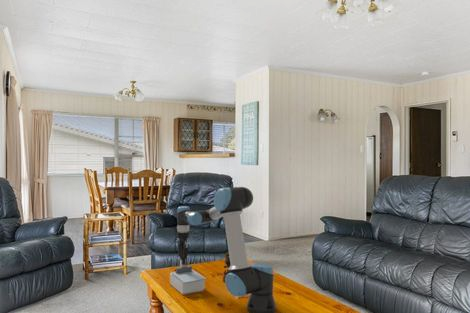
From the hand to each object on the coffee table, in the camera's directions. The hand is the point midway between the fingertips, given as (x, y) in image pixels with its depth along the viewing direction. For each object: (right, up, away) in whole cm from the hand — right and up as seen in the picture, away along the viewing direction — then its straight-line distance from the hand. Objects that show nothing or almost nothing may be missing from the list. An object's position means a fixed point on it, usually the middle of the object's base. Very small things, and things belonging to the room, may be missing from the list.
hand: (182, 269), depth 225 cm
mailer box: (+3, -9, -6) cm, 11 cm away
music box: (+31, -10, +8) cm, 33 cm away
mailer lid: (+5, -2, -8) cm, 9 cm away
